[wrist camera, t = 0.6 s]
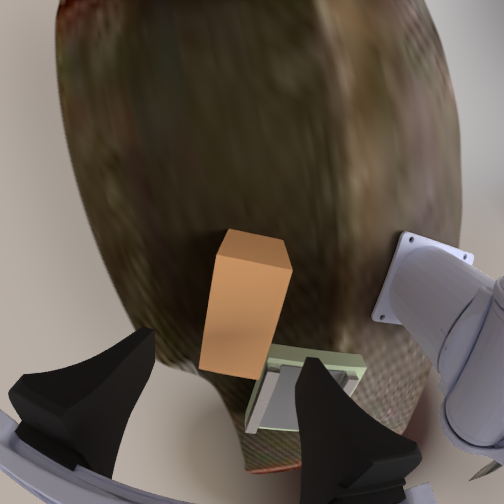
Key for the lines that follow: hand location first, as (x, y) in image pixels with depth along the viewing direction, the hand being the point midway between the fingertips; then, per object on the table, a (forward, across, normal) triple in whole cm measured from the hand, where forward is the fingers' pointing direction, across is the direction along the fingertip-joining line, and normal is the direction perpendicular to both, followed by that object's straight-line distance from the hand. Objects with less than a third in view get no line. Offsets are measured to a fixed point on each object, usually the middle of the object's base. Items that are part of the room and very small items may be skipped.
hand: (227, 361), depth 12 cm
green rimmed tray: (+9, -8, +10) cm, 16 cm away
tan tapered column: (+10, 0, 0) cm, 10 cm away
